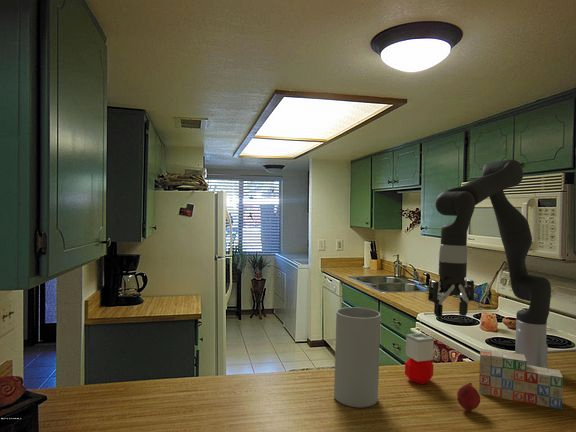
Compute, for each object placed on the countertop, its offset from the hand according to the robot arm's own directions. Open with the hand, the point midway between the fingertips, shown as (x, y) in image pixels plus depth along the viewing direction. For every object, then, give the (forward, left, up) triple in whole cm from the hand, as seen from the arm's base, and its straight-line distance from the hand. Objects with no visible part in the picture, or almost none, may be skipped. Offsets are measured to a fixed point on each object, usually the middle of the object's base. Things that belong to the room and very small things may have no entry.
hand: (450, 316), depth 121 cm
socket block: (0, -14, -17) cm, 22 cm away
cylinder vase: (+26, -9, -25) cm, 37 cm away
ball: (0, -14, -25) cm, 28 cm away
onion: (0, +7, -25) cm, 26 cm away
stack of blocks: (-22, +5, -25) cm, 33 cm away
